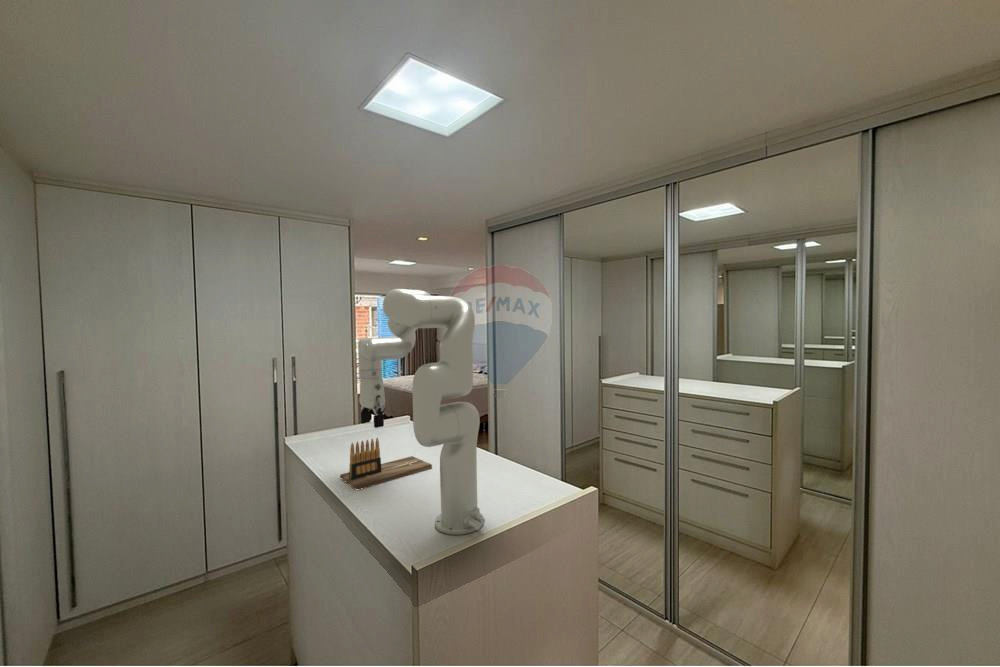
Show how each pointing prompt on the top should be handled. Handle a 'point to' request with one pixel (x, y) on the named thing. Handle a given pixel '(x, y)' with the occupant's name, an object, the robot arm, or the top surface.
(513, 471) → the top surface
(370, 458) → the ammunition clip
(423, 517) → the top surface
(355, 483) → the walnut board
